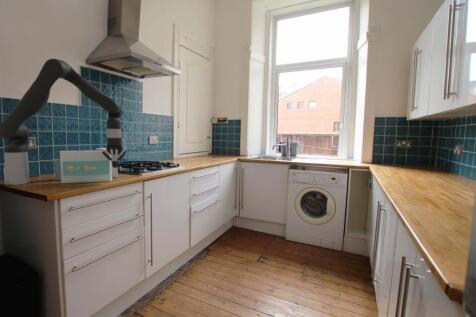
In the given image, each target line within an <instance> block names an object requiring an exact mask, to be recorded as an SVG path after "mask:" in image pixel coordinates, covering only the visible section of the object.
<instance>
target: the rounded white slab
mask: <svg viewBox="0 0 476 317" xmlns="http://www.w3.org/2000/svg"><path fill="white" fill-rule="evenodd" d="M106 148H107V147H96V149H95V151H105V150H106ZM118 167H119V166H118ZM118 167H117V168H113V167H112V161H111V176H112V179H115V178H118V177H119V175H118V174H119V172H118Z"/></svg>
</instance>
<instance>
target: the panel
mask: <svg viewBox="0 0 476 317" xmlns="http://www.w3.org/2000/svg"><path fill="white" fill-rule="evenodd" d="M84 165H90V167H93V166H96V169H90V171H84V169H83V167H84ZM67 166H73V167H80V169H77V170H73V171H67V170H66V167H67ZM109 174H110V172H109V160H94V161H63V176H81V175H109Z"/></svg>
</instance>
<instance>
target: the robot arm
mask: <svg viewBox="0 0 476 317" xmlns="http://www.w3.org/2000/svg"><path fill="white" fill-rule="evenodd" d="M60 79H63V80H65V81H67V82H69V83H70V84H71V85H74V87H76V88H77V89H78V90H79V91H80V92H81V93H82V94H83V95H84V96H85V97H86V98H88V99H89V100H91V101H92V102H94V103H95V104H97V105H99V106H100V107H101V108H102V109H103V110H105V111H106V112H107V113H108V114H107V116H108V118H107V119H106V147H105V148H106V150H105V151H103V152H102V153H103V154H104V156H105V157H106V158H107V159H108V160H111V161H112V167H113V168H117V167H119V161H121V160H122V159H123V158H124V157H125V155H126V154H127V153H128V151H126V150H125V149H124V147H123V136H122V135H123V134H122V122H121V121H122V120H121V119H122V105H121V104H120V103H119V102H117V101H115V100H114V99H113V98H111V97H110V96H108V95H106V93H105V92H103V91H102V90H100V89H99V88H98V87H96V86H95V85H94V84H93V83H91V82H89V81H88V80H86V79H85V78H84V77H83V76H81V75H80V74H79V73H78V72H77V71H76V70H75V69H74V68H73V67H72V66H71V65H70V64H69V63H67V62H66V61H64V60H61V59H58V58H50V59H47V60H46V61H45V62H44V64H43V65H42V67H41V69H40V71H39V73H38V75H37V77H36V78H35V80H34V81H33V82H32V84H31V85H30V87H29V88H28V89H27V91H26V92H25V93H24V94H23V96H22V97H21V98H20V100H19V102H18V104H17V105H16V106H15V107H14V109H13V110H12V111H11V112H10V113H9V115H8V116H6V117H5V119H4V120H2V122H1V123H0V139H3V140H7V141H10V140H11V143H10V144H8V145H6V146H5V147H4V148H3V149H4V150H3V151H4V162H5V164H4V165H5V166H4V167H3V176H4V177H3V179H4V185H6V186H7V185H8V186H14V185H15V186H16V185H25V184H29V183H30V170H29V169H30V168H29V158H28V155H29V154H28V149H29V146H30V143H29V142H30V141H29V139H30V138H29V137H30V135H29V134H30V132H29V129H28V126H27V125H26V124H24V123H25V121H26V120H28V119H29V118H32V117H34V116H35V115H36V114H38V113H39V112H41V111H42V110H43V109H44V107H45V106H46V105H47V103H48V102H49V98H50V93H51V89H52V87H53V86H54V84H55V83H56V82H57V81H58V80H60ZM107 151H108V152H109V154H110V155H111V157H110V156H109V155H108V154H107V153H108V152H107ZM120 154H121V155H120ZM119 155H120V156H119Z"/></svg>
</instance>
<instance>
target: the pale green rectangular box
mask: <svg viewBox="0 0 476 317" xmlns="http://www.w3.org/2000/svg"><path fill="white" fill-rule="evenodd" d="M102 152H103V151H96V150H60V151H59V159H60V165H61V180H60V184H74V183H75V184H76V183H96V182H97V183H99V182H101V183H102V182H112V181H113V178H112V176H111V160H109V172H110V174H109V175H81V176H63V161H94V160H108V159H107V158H106V157H105V156H104V154H103V153H102ZM107 152H108V151H107ZM107 154H108V155H109V156H110V157H111V155H110V154H109V152H108V153H107ZM77 169H80V167H73V166H67V167H66V170H67V171H73V170H77ZM83 169H84V171H90V169H96V166H93V167H90V165H84V167H83Z"/></svg>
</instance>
